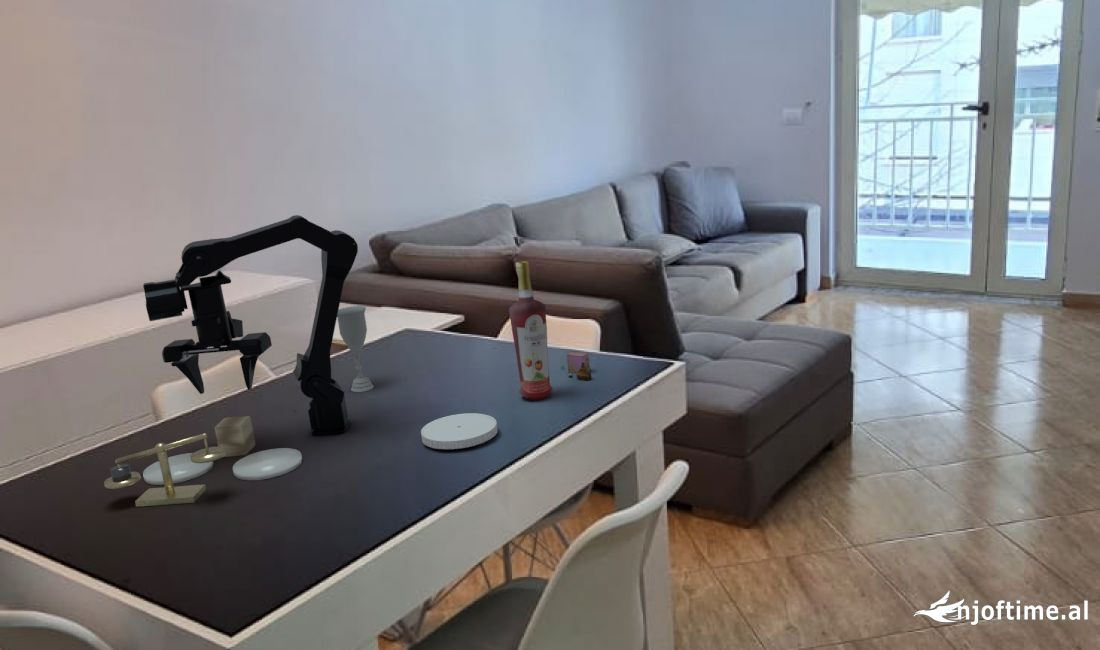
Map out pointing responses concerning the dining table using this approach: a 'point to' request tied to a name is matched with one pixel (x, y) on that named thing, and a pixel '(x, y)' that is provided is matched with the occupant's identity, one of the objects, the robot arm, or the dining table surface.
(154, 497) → the balance
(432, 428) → the plastic lid
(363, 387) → the chalice
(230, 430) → the block
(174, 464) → the pale round disc
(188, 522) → the dining table surface
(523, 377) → the liquor
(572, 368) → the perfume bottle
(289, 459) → the shallow white plate
